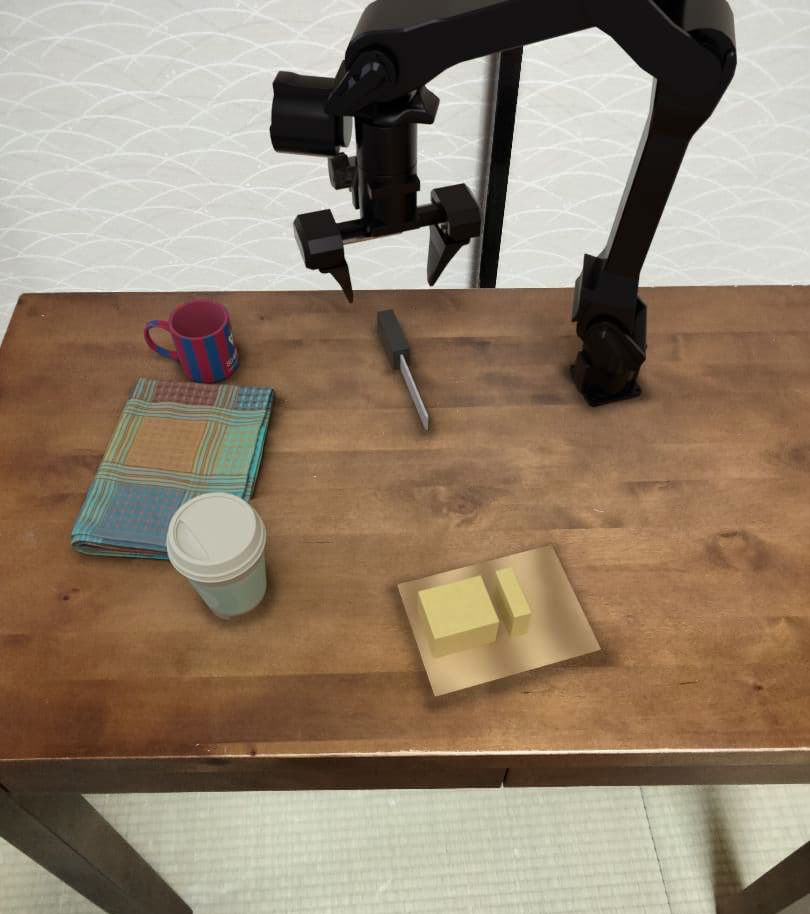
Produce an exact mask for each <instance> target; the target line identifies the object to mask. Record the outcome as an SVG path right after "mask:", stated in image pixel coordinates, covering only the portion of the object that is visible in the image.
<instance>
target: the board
mask: <svg viewBox="0 0 810 914" xmlns="http://www.w3.org/2000/svg"><path fill="white" fill-rule="evenodd" d="M509 567H512V569H513V571H514V574H515V576H516V578H517V580H518V583H519V585H520V587H521V590H522V592H523V594H524V597H525V599H526V601H527V604H528V606H529V608H530V610H531V617H530V620H529V624H528V628H527V632H526V633H525V634H522V635H518V636H515V637H511V638H510V636H509V634H508V631H507V629H506V626H505V624H504V621H503V619H502V617H501V614H500V612H499V609H498V607H497V604H496V602H495V599H494V597H493V595H492V589H493V583H494V577H495V571H498V570H502V569H506V568H509ZM480 575H481V577H482V580H483V582H484V585H485V587H486V590H487V592H488V594H489V597H490V599H491V602H492V604H493V607H494V609H495V612H496V614H497V617H498V619H499V626H498V631H497V636H496V641H495V642H492V643H488V644H485V645H481V646H478V647H474V648H470V649H467V650H463V651H459V652H456V653H452V654H448V655H445V656H441V657H438V658H433V655H432V653H431V650H430V647H429V644H428V641H427V638H426V635H425V632H424V629H423V627H422V624H421V621H420V618H419V615H418V592H419V591H422V590H426V589H430V588H434V587H438V586H441V585H445V584H449V583H453V582H457V581H460V580H464V579H468V578H472V577H476V576H480ZM396 586H397V588H398V589H397V590H398V592H399V594H400V597H401V601H402V604H403V607H404V609H405V612H406V615H407V619H408V622H409V624H410V627H411V631H412V633H413V636H414V638H415V642H416V645H417V648H418V650H419V654H420V658H421V660H422V662H423V666H424V669H425V672H426V674H427V677H428V680H429V683H430V686H431V689H432V692H433V695H434V697H439V696H442V695H447V694H449V693H453V692H456V691H460V690H463V689H468V688H470V687H474V686H477V685H482V684H484V683H489V682H491V681H495V680H499V679H503V678H506V677H510V676H513V675H516V674H519V673H524V672H527V671H531V670H535V669H538V668H542V667H544V666H549V665H552V664H556V663H559V662H563V661H566V660H570V659H573V658H577V657H580V656H584V655H588V654H590V653H594V652H599V651H601V650H602V649H601V645H600V644H599V642H598V639H597V637H596V635H595V633H594V631H593V629H592V627H591V625H590V623H589V620H588V618H587V616H586V614H585V612H584V610H583V607H582V606H581V603H580V602H579V599H578V597H577V595H576V593H575V590H574V589H573V587H572V584H571V582H570V580H569V578H568V576H567V574H566V572H565V570H564V568H563V566H562V563H561V561H560V559H559V557H558V555H557V552H556V551H555V548H554V547H553V545H552V544H548V545H545V546H541V547H537V548H533V549H529V550H525V551H521V552H518V553H513V554H510V555H506V556H501V557H498V558H494V559H491V560H487V561H483V562H479V563H475V564H471V565H467V566H464V567H459V568H455V569H451V570H448V571H444V572H440V573H436V574H433V575H429V576H425V577H420V578H417V579H413V580H409V581H405V582H401V583H398V584H397V585H396Z"/></svg>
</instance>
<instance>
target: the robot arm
mask: <svg viewBox="0 0 810 914" xmlns="http://www.w3.org/2000/svg"><path fill="white" fill-rule="evenodd" d="M735 27H736V26H735V15H734V12H733V10H732V8H731V5H730V3H729V2H728V1H727V0H374V1H372V2H370V3H368V5H367V6H366V7H365V8H364V10H363V12H362V13H361V15H360V17H359V19H358V22H357V23H356V26H355V29H354V30H353V33H352V35H351V37H350V39H349V42H348V45H347V47H346V50H345V52H344V59H342V60H341V63H340V65H339V67H338V69H337V72H336V74H335V76H334V77H329V76H328V77H327V76H318V75H317V76H316V75H307V74H299V73H296V72H293V71H288V70H279V71H278V72H277V73H276V76H275V77H274V79H273V80H272V83H271V84H272V92H273V95H272V101H271V111H270V112H271V113H270V125H269V130H268V132H269V138H270V142H271V145H272V148H273V150H274V152H275V153H277V154H286V155H297V156H307V157H317V158H327V170H328V176H329V182H330V186H331V187H332V188H333V189H334V190H335V191H340V190H343V189H344V190H345V189H348V192H350V193H351V202H352V205H353V207H354V210H356V211H357V210H359V218H355V219H349V220H345V221H340V222H336V219H335V217H334V215H333V212H332V210H331V208H325V209H320V210H315V211H309V212H304V213H300V214H297V215H296V216H295V218H294V220H293V222H292V228H293V236H294V240H295V243H296V245H297V248H298V250H299V253H300V256H301V259H302V261H303V264H304V267H305V269H308V270H311V271H316V270H318V272H319V273H320V274H323V275H326V274H330V275H331V276H332V277H333V279H334V280H335V281H336V283H338V285H339V286H340V288H341V290H342V293H343V294H344V297H346V300H347V302H348V304H354V291H353V284H352V280H351V274H350V268H349V264H348V261H347V259H346V255H345V247H344V246H347V245H352V244H357V243H362V242H367V241H371V240H377V239H382V238H387V237H392V236H397V235H402V234H403V233H404V232H410V231H415V230H419V229H421V228H425V227H428V228H429V229H428V230H429V241H428V250H427V251H428V252H427V263H426V281H427V284H428V285H429V287H434V286H435V284H437V281H438V280H439V278H440V276H441V275H442V274H443V273H444V271H445V269H446V268H447V267H448V265H449V263H450V262H451V260H453V258H454V257H455V256H456V255H457V254H458V252H459V251H460V250H461V249H462V248H463V247H464V246H468V245H469V244H470V243H471V240H472V239H474V238H480V237H481V236H482V235H483V233H484V227H485V215H484V210H483V208H482V206H481V204H480V203H479V201H478V200H477V197H476V196H475V194H474V193H473V191H472V189H471V188H470V187H469V186H468V185H467V184H466V183H465V182H462V183H457V184H456V183H455V184H450V185H446V186H441V187H437V188H436V187H435V188H433V189H431V191H430V197H429V198H430V200H429V201H430V203H424V204H419V205H418V192H421V180H420V178H419V176H418V124H419V125H428V126H431V125H433V124H434V123H435V120H436V117H437V114H438V110H439V107H440V104H441V99H440V97H438V95H436V93H434V92H433V91H431V90H429V89H428V88H427V86H426V85H427V84H429V83H430V82H431V81H433V80H435V78H437V77H439V76H440V75H441V74H443V73H444V72H445V71H447V70H448V69H450V68H452V67H455V66H457V65H459V64H461V63H465V62H468V61H473V60H476V59H480V58H484V57H488V56H491V55H495V54H498V53H502V52H506V51H510V50H514V49H517V48H521V47H525V46H528V45H529V46H530V45H532V44H536V43H540V42H545V41H547V40H551V39H556V38H559V37H563V36H567V35H570V34H574V33H578V32H583V31H585V30H589V29H593V28H596V29H598V30H599V31H601V32H602V33H604V34H606V35H607V36H609V37H610V38H611V39H612V40H613V41H614V42H615V43H616V44H617V45H618V46H619V47H620V48H621V49H622V50H623V51H624V52H625V54H627V56H628V57H629V58H630V59H631V60H632V61H633V62H634V63H635V64H636V66H638V67H639V68H640V69H641V70H643V72H645V73H647V74H648V75H650V76H651V77H652V82H651V92H650V100H649V108H648V109H649V110H648V115H647V117H646V120H645V124H644V127H643V130H642V133H641V136H640V139H639V141H638V142H639V143H638V145H637V149H636V152H635V155H634V158H633V160H632V163H631V167H630V170H629V173H628V176H627V180H626V183H625V186H624V190H623V192H622V195H621V197H620V200H619V205H618V207H617V211H616V214H615V216H614V220H613V223H612V225H611V228H610V232H609V236H608V239H607V242H606V244H605V246H604V248H603V250H601V252H599V254H598V255H597V256H595V255H592V254H589V253H583V260H582V270H581V271H580V273H579V276H578V277H577V278H576V279H575V280H574V289H573V300H572V308H571V309H572V310H571V317H570V321H571V323H576V326H575V333H576V336H577V338H578V339H580V340H581V341H582V346H581V349H580V350H578V351H577V354H576V357H575V363H573V364H572V363H571V364H570V365H569V369H568V370H569V372H570V374H571V378H572V380H573V382H574V383H575V385H576V386H577V388H578V391H579V392H580V393H581V394H582V395H583V397H584V398H585V400H586V402H587V404H588V405H589V406H590V407H597V406H602V405H605V404H606V405H607V404H610V403H614V402H617V401H622V400H627V399H631V398H636V397H640V396H641V395H642V393H643V389H642V387H641V386H640V384H639V383H638V382H637V380H638V377H639V374H640V370H641V367H642V365H643V364H644V363H645V361H646V360H647V349H648V344H647V333H648V332H647V331H648V305H647V304H646V302H645V301H644V299H642V297H641V296H640V294H638V293H639V285H640V277H641V272H642V269H643V267H644V264H645V261H646V259H647V256H648V254H649V251H650V248H651V245H652V244H653V240H654V237H655V235H656V232H657V229H658V227H659V224H660V221H661V219H662V216H663V214H664V211H665V208H666V205H667V203H668V201H669V198H670V196H671V192H672V190H673V187H674V185H675V182H676V179H677V177H678V174H679V171H680V169H681V166H682V163H683V160H684V158H685V155H686V153H687V150H688V147H689V145H690V142H692V141H691V140H692V139H693V137H694V136H695V135H696V133H697V132H698V131H699V130H700V129H702V127H703V126H704V125H705V124H706V122H707V121H708V120H709V119H710V118H711V117H712V116H713V113H714V112H715V110H716V109H717V107H718V105H719V103H720V102H721V100H722V98H723V97H724V94H725V93H726V92H727V90H728V88H729V86H730V85H731V83H732V81H733V79H734V77H735V74H736V69H737V66H738V53H737V39H736V28H735ZM353 122H354V136H355V137H354V138H355V140H354V141H355V155H352V156H348V155H347V153H345V151H341V148H346V149H347V148H349V147H350V144H351V142H352V141H351V140H352V135H353Z"/></svg>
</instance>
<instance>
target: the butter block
mask: <svg viewBox="0 0 810 914" xmlns="http://www.w3.org/2000/svg"><path fill="white" fill-rule="evenodd" d="M418 615H419V618H420V621H421V624H422V627H423V629H424V632H425V635H426V638H427V641H428V644H429V647H430V650H431V653H432V655H433V658H438V657H441V656H445V655H448V654H452V653H456V652H459V651H463V650H467V649H470V648H474V647H478V646H481V645H485V644H488V643H492V642H495V641H496V636H497V631H498V626H499V619H498V617H497V614H496V612H495V609H494V607H493V604H492V602H491V599H490V597H489V594H488V592H487V590H486V587H485V585H484V582H483V580H482V577H481V575H480V576H476V577H472V578H468V579H464V580H460V581H457V582H453V583H449V584H445V585H441V586H438V587H434V588H430V589H426V590H422V591H419V592H418Z"/></svg>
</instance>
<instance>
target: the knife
mask: <svg viewBox="0 0 810 914" xmlns="http://www.w3.org/2000/svg"><path fill="white" fill-rule="evenodd" d="M396 315H397V314H396V313H395V311H394V308H389V309H385V310H380V311H379V310H378V311H377V312H376V321H377V322H376V324H377V333H378V335H379V337H380V340H381V342H382V345H383V347H384V350H385V353H386V355H387V357H388V361H389V363H390V365H391V367H392V370H395V371H396V370H399V369H400V371H401V374H402V376H403V379H404V381H405V383H406V386H407V388H408V391H409V393H410V396H411V398H412V402H413V403H414V405H415V408H416V410H417V413H418V415H419V418H420V421H421V422H422V425H423V428H424V430H425V431H428V430H429V414H428V412H427V410H426V407H425V405H424V403H423V400H422V398H421V396H420V393H419V391H418V388H417V385H416V384H415V380H414V378H413V376H412V374H411V371H410V369H409V367H410V346H409V344H408V341H407V339H406V336H405V334H404V332H403V330H402V326H401V325H400V323H399V319H398V318H397V316H396Z"/></svg>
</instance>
